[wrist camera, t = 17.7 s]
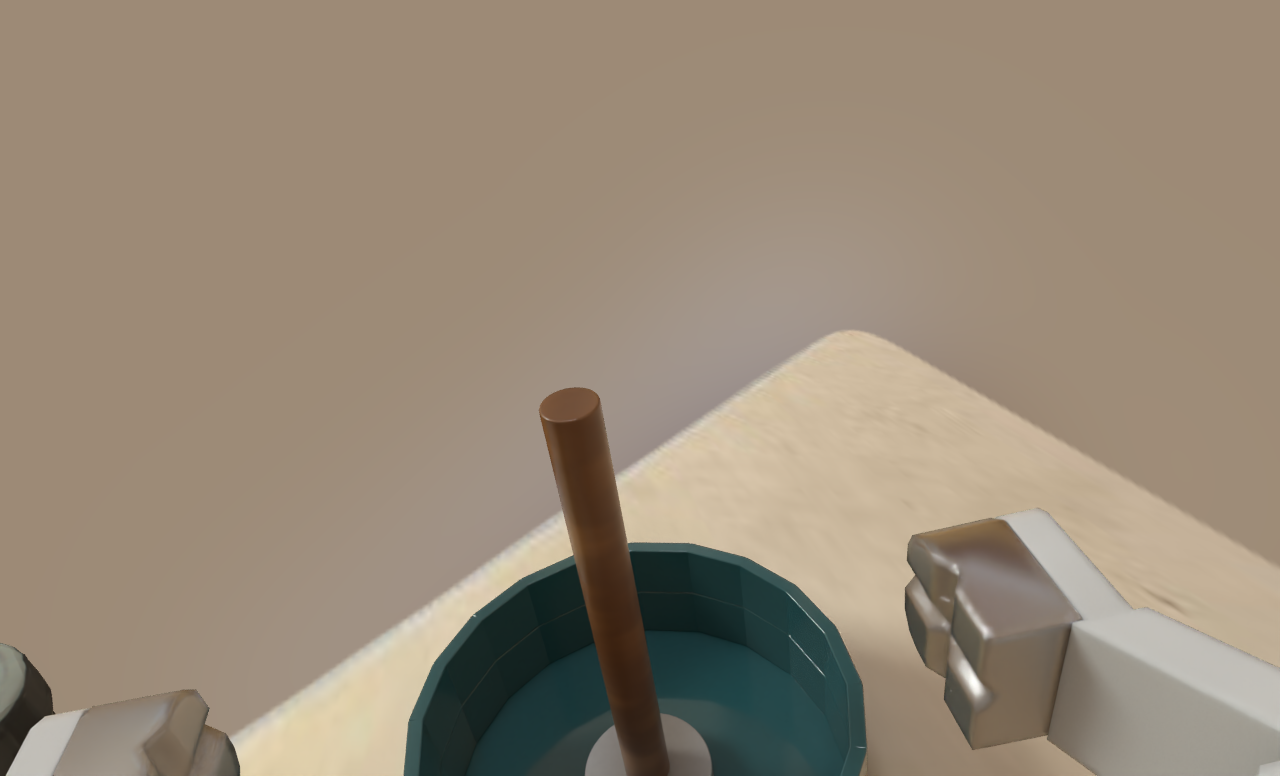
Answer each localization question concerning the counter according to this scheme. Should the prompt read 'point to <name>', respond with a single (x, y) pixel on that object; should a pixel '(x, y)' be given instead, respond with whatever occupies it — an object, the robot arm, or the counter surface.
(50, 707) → the sauce bottle
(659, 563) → the bowl
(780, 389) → the counter surface
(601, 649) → the wooden dowel stand
